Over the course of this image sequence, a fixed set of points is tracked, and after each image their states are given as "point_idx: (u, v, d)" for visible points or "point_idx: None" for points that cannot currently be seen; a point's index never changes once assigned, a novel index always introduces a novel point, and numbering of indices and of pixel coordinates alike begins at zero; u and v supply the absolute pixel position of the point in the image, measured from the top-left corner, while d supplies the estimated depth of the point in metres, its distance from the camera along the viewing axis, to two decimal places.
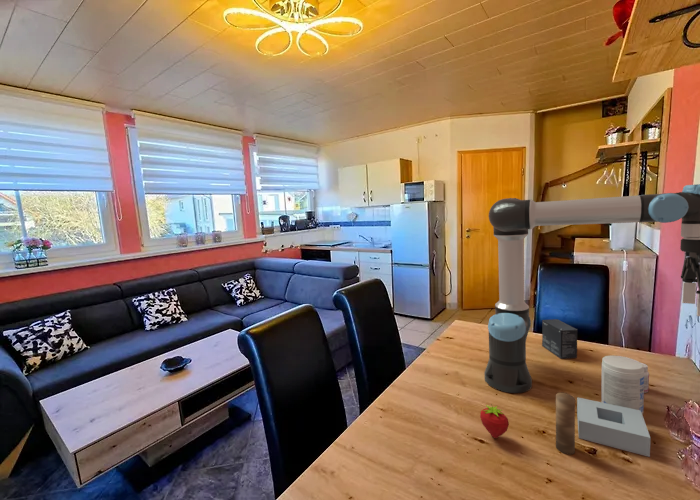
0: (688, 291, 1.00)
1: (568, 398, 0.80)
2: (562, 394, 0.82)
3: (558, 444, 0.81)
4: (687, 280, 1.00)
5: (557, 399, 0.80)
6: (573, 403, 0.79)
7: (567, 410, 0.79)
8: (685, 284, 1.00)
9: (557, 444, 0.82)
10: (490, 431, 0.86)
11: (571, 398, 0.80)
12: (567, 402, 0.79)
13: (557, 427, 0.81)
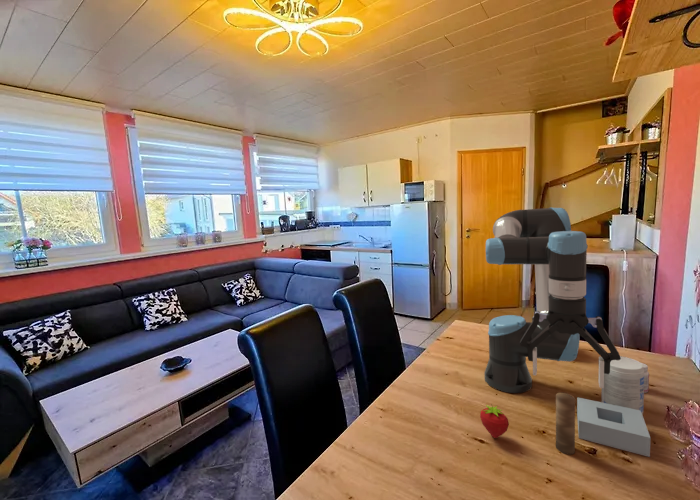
0: (599, 369, 0.76)
1: (568, 398, 0.80)
2: (562, 394, 0.82)
3: (558, 444, 0.81)
4: None
5: (557, 399, 0.80)
6: (573, 403, 0.79)
7: (567, 410, 0.79)
8: (599, 359, 0.76)
9: (557, 444, 0.82)
10: (490, 431, 0.86)
11: (572, 398, 0.80)
12: (567, 402, 0.79)
13: (557, 427, 0.81)
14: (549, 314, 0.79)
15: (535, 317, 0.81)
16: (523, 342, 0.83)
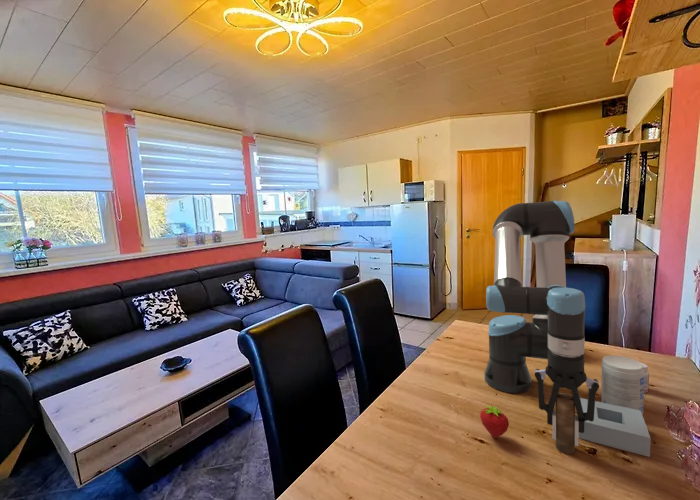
0: None
1: (568, 397, 0.80)
2: (562, 394, 0.82)
3: (558, 444, 0.81)
4: (578, 415, 0.80)
5: (557, 399, 0.80)
6: (573, 403, 0.79)
7: (567, 409, 0.79)
8: None
9: (557, 444, 0.82)
10: (490, 431, 0.86)
11: (571, 398, 0.80)
12: (567, 402, 0.79)
13: (557, 427, 0.81)
14: (546, 369, 0.81)
15: (537, 377, 0.82)
16: (541, 405, 0.83)
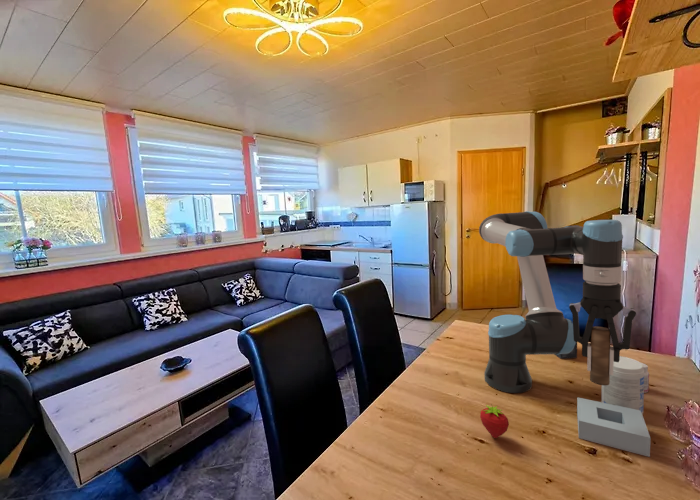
0: None
1: (603, 329, 0.81)
2: (597, 327, 0.83)
3: (592, 376, 0.83)
4: None
5: (592, 331, 0.82)
6: (609, 334, 0.80)
7: (602, 340, 0.80)
8: None
9: (591, 376, 0.83)
10: (490, 431, 0.86)
11: (607, 330, 0.81)
12: (602, 333, 0.80)
13: (592, 359, 0.83)
14: (581, 301, 0.83)
15: (571, 309, 0.84)
16: (576, 337, 0.84)
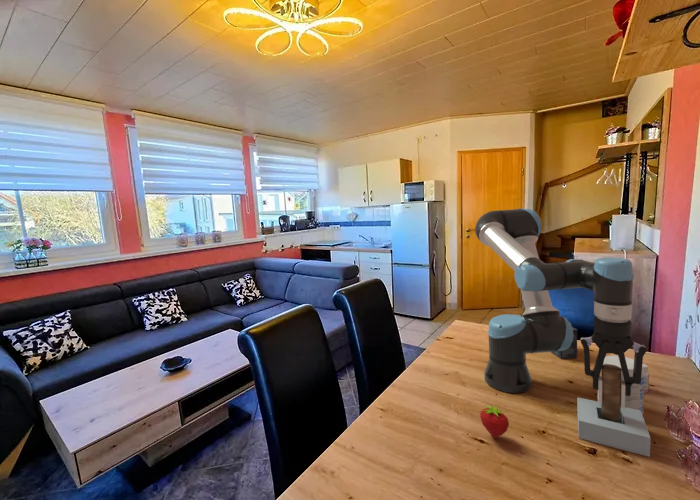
0: None
1: (614, 368, 0.84)
2: (608, 365, 0.85)
3: (604, 413, 0.85)
4: (624, 379, 0.83)
5: (603, 369, 0.84)
6: (620, 373, 0.82)
7: (614, 379, 0.83)
8: None
9: (603, 413, 0.85)
10: (490, 431, 0.86)
11: (618, 368, 0.83)
12: (614, 372, 0.82)
13: (603, 397, 0.85)
14: (593, 336, 0.85)
15: (583, 344, 0.86)
16: (587, 371, 0.86)
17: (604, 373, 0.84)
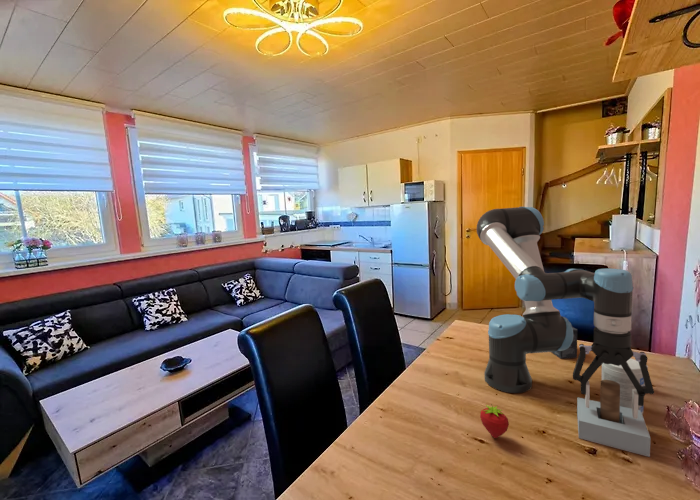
0: (633, 400, 0.83)
1: (613, 384, 0.84)
2: (606, 381, 0.86)
3: None
4: None
5: (602, 385, 0.85)
6: (618, 389, 0.83)
7: (612, 395, 0.83)
8: (632, 391, 0.83)
9: None
10: (490, 431, 0.86)
11: (616, 384, 0.84)
12: (612, 388, 0.83)
13: (602, 412, 0.86)
14: (593, 346, 0.85)
15: (581, 351, 0.86)
16: (576, 376, 0.88)
17: (603, 389, 0.85)
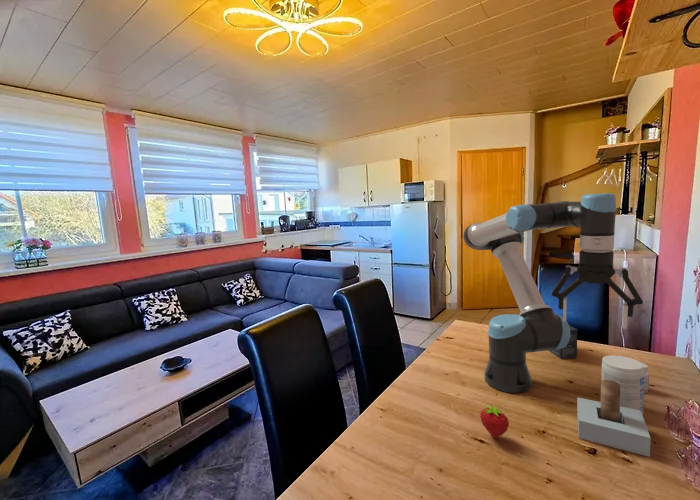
0: (623, 313, 0.88)
1: (613, 384, 0.84)
2: (607, 381, 0.86)
3: None
4: None
5: (603, 385, 0.85)
6: (619, 389, 0.83)
7: (613, 395, 0.83)
8: (623, 305, 0.88)
9: None
10: (490, 431, 0.86)
11: (617, 384, 0.84)
12: (613, 388, 0.83)
13: (602, 412, 0.86)
14: (579, 267, 0.91)
15: (567, 270, 0.92)
16: (555, 292, 0.95)
17: (603, 389, 0.85)
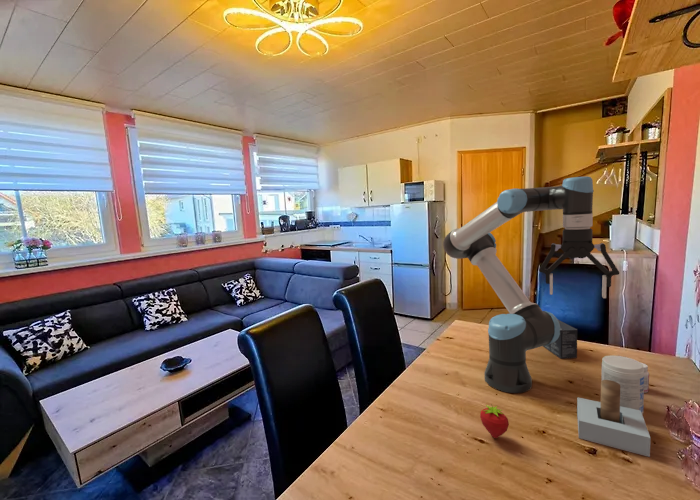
0: (602, 284, 0.98)
1: (613, 384, 0.84)
2: (607, 381, 0.86)
3: None
4: None
5: (603, 385, 0.85)
6: (619, 389, 0.83)
7: (613, 395, 0.83)
8: (602, 276, 0.98)
9: None
10: (490, 431, 0.86)
11: (617, 384, 0.84)
12: (613, 388, 0.83)
13: (602, 412, 0.86)
14: (563, 244, 1.01)
15: (552, 247, 1.02)
16: (542, 268, 1.05)
17: (603, 389, 0.85)
